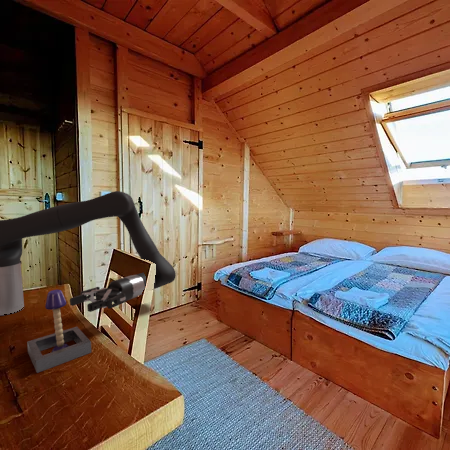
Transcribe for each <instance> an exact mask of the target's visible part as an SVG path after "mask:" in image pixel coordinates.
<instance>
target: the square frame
mask: <svg viewBox="0 0 450 450" xmlns="http://www.w3.org/2000/svg"><path fill="white" fill-rule="evenodd" d="M62 334H63V340H64V344H67V343H69V342H71V341H74V342H75V343H76V344H72V345H69V347H66V348H63V349H60V350H57V351H54V352H52V351H51V352H50V353H46V354H44V355H43V354H42V351H45V350H48V349H50V348H54V347H55V346H57V340H56V334H55V332H54V333H51V334H48V335H44V336H42V337H38V338H34V339H32V340H28V341H27V342H26V343H27V354H28V355H29V358H30V361H31V363H32V365H33V366H34V370H35V373H37V374H38V373H40V372H41V373H42V372H44V371H46V370H49V369H52V368H54V367H57V366H60V365H62V364H65V363H67V362H71V361H72V360H76V359H78V358H80V357H83V356H86V355H89V354H91V353H92V341H91V340H90V339H89V338H88V336H86V335H85V333H84V332H83V331H82V330H81V329H80V328H79V327H78V326H75V327H71V328H68V329H67V328H66V329H63V333H62Z"/></svg>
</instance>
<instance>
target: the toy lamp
mask: <svg viewBox="0 0 450 450" xmlns="http://www.w3.org/2000/svg"><path fill="white" fill-rule="evenodd" d="M66 305H67V301H66V297H65V296H64V293H63V291H62V290H61V289H52V290H50V291H48V293H47V295H46V301H45V306H44V307H45V309H46V310H52V313H53V314H52V315H53V316H52V317H53V323H54V327H53V328H54V330H55V331H54V333H55V334H56V340H57V346H54V347H53V349H51V352H54V351H57V350H60V349H63V348H66V347H69V346H70V345H68V344H67V343H64V340H63V334H62V333H63V331H64V329H63V323H62V317H61V316H62V313H61V308H64V307H65V306H66Z"/></svg>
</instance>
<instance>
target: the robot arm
mask: <svg viewBox="0 0 450 450" xmlns="http://www.w3.org/2000/svg"><path fill="white" fill-rule="evenodd" d="M113 217H114V218H115V217H116V218H117V217H118V218H119V220H120V221H121V222H122V224H123V225H124V227H125V228H126V230H127V231H128V235H129V237H130V240H131V242H132V245H133V247H134V249H135V251H136V253H137V255H138V256H139V258H140V259H144V260H145V259H146V260H149V261H151V262H153V263H155V264H156V275H155V283H154V289H153V290H155V289H158V288H161V287H163V286H167V285H169V284H171V283H173V282H174V281H175V279H176V274H177V273H176V270H175V268H174V266H173V265H172V264H171V262H169V261H168V260H167V259H166V258H165V256H163V255H162V254H161V252H160V251H159V250H158V247H157V245H156V244H155V242H154V241H153V239H152V237H151V236H150V233H148V231H147V229H146V228H145V226H144V224H143V222H142V220H141V217H140V215H139V213H138V210H137V208H136V205H135V201H134V199H133V197H132V196H131V195H130V194H129V193H126V192H124V191H120V190H119V191H118V190H116V191H111V192H108V193H106V194H103V195H100V196H98V197H94V198H91V199H86V200H83V201H82V200H81V201H74V202H70V203H65V204H60V205H56V206H52V207H47V208H44V209H41V210H38V211H35V212H31V213H29V214H25V215H22V216H18V217H15V218H9V219H1V220H0V316H5V315H4V314H7V315H11V314H10V313H12V314H15V313H17V311H18V312H20V311H22V310H23V309H24V308H25V302H24V301H25V300H24V289H23V288H24V286H23V276H22V274H23V273H22V267H21V265H22V263H21V258H22V254H23V239H27V238H31V237H38V236H44V235H52V234H58V233H60V232H65V231H69V230H73V229H75V228H78V227H81V226H83V225H85V224H87V223H90V222H92V221H96V220H100V219H106V218H113ZM145 286H146V276H145V274H144V272H141V273H137V274H133V275H132V274H131V275H128V276H125V277H122V278H118V279H116V280H112V281H111V282H110V283H109V284H108V286H107V287H102V288H100V286H95V287H92V288H89V289H88V288H87V289H86V290H81V291H80V295H76V296H73V297H70V299H69V305H70V306H71V307H73V306H77V305H79V304H82V303H87V302H89V303H88V304H87V312H89V313H91V312H94V311H97V310H99V309H105V308H107V309H113V308H115V307H118V306H120V305H123V304H124V303H126V302H128V301H130V300H133V299H135V298H137V297H139V296H141V295H143V294H142V292H143V290H144V289H145ZM23 307H24V308H23ZM22 308H23V309H22ZM21 309H22V310H21ZM19 310H20V311H19ZM14 312H15V313H14Z"/></svg>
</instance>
